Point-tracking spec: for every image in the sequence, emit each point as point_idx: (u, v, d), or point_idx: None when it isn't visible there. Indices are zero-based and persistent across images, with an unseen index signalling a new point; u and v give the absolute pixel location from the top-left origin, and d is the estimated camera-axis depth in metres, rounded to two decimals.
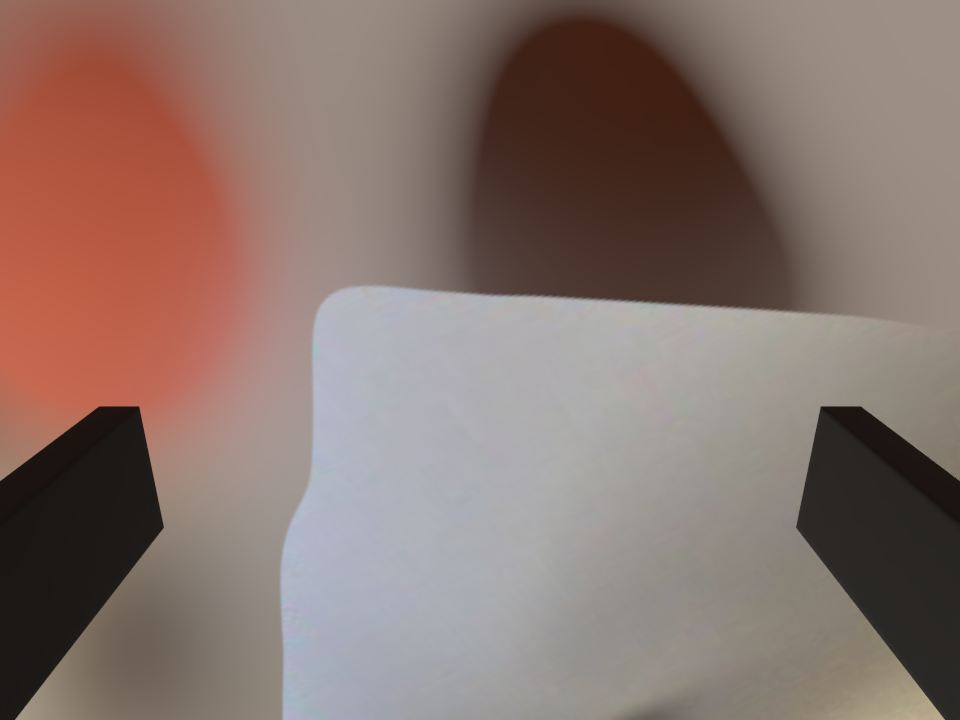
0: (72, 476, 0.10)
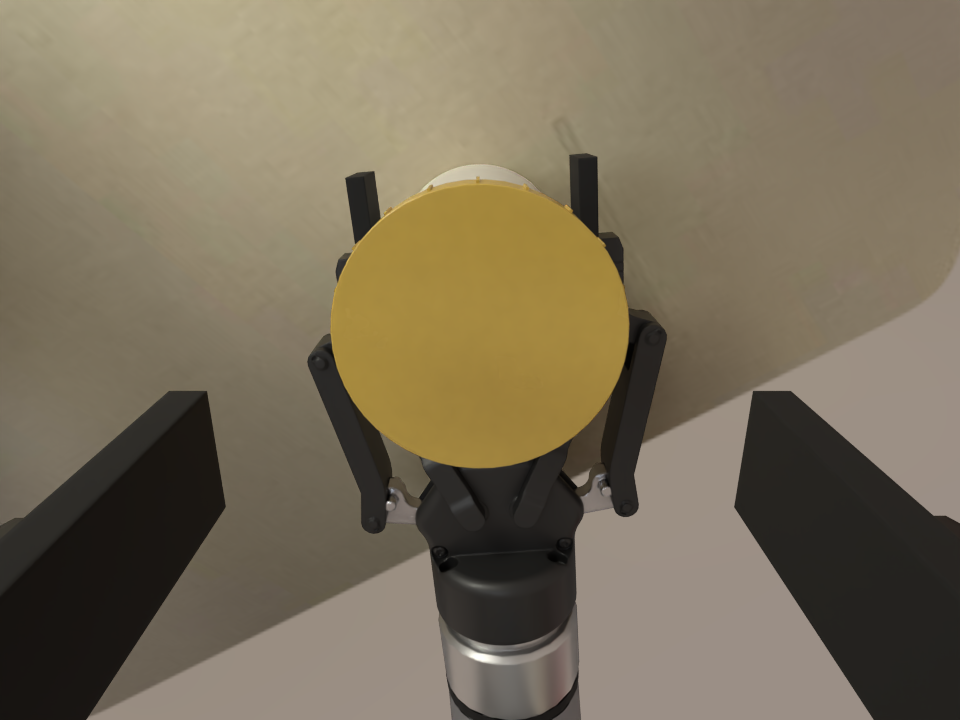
0: (156, 453, 0.11)
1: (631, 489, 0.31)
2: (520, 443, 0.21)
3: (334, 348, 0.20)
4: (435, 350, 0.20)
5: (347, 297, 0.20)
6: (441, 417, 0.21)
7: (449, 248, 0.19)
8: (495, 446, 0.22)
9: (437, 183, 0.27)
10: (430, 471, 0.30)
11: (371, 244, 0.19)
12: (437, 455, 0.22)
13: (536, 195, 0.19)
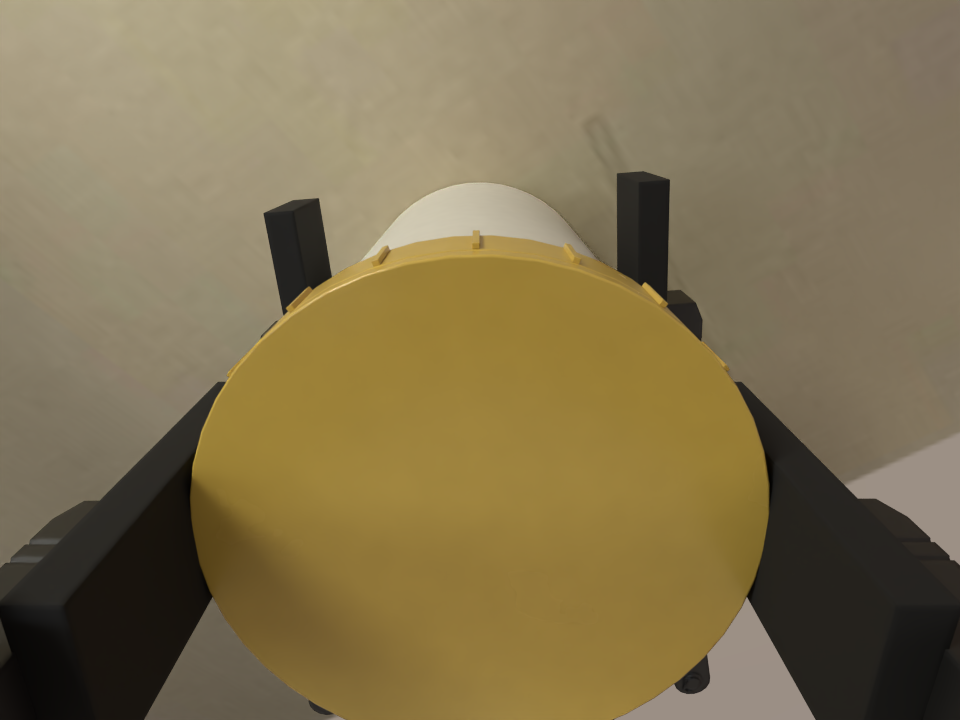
0: None
1: None
2: (553, 709, 0.12)
3: (201, 558, 0.11)
4: (394, 561, 0.11)
5: (219, 470, 0.10)
6: (408, 670, 0.11)
7: (418, 380, 0.09)
8: (508, 714, 0.12)
9: (413, 218, 0.17)
10: None
11: (259, 373, 0.09)
12: None
13: (597, 277, 0.09)
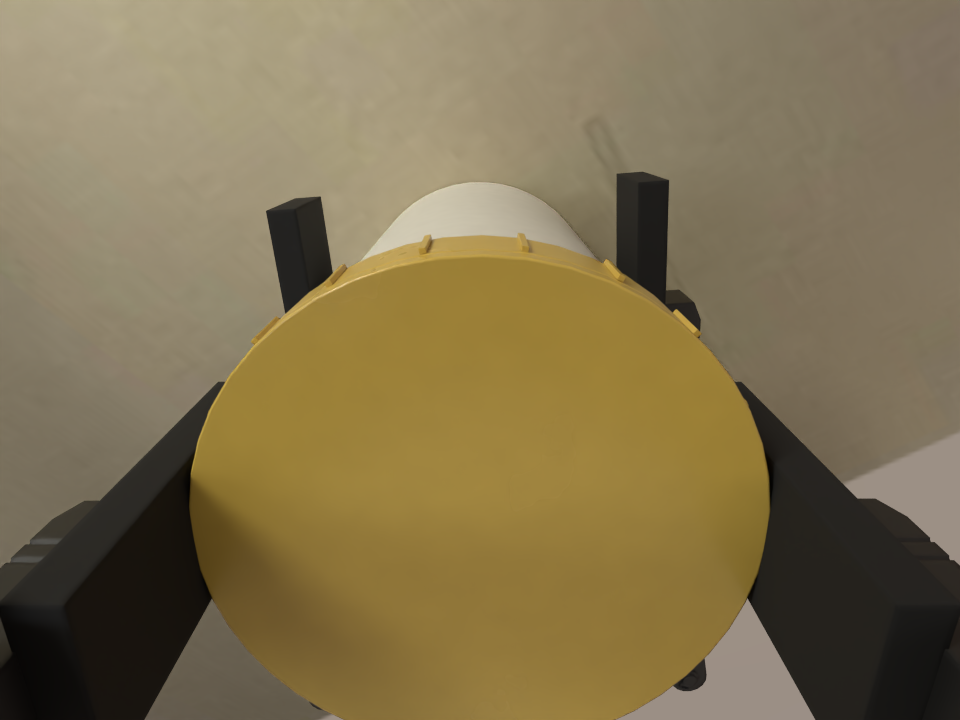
0: None
1: None
2: (707, 434, 0.10)
3: None
4: (517, 606, 0.11)
5: None
6: (654, 581, 0.11)
7: (325, 607, 0.11)
8: (716, 479, 0.10)
9: (415, 217, 0.18)
10: None
11: (349, 709, 0.12)
12: (740, 578, 0.11)
13: (192, 489, 0.10)
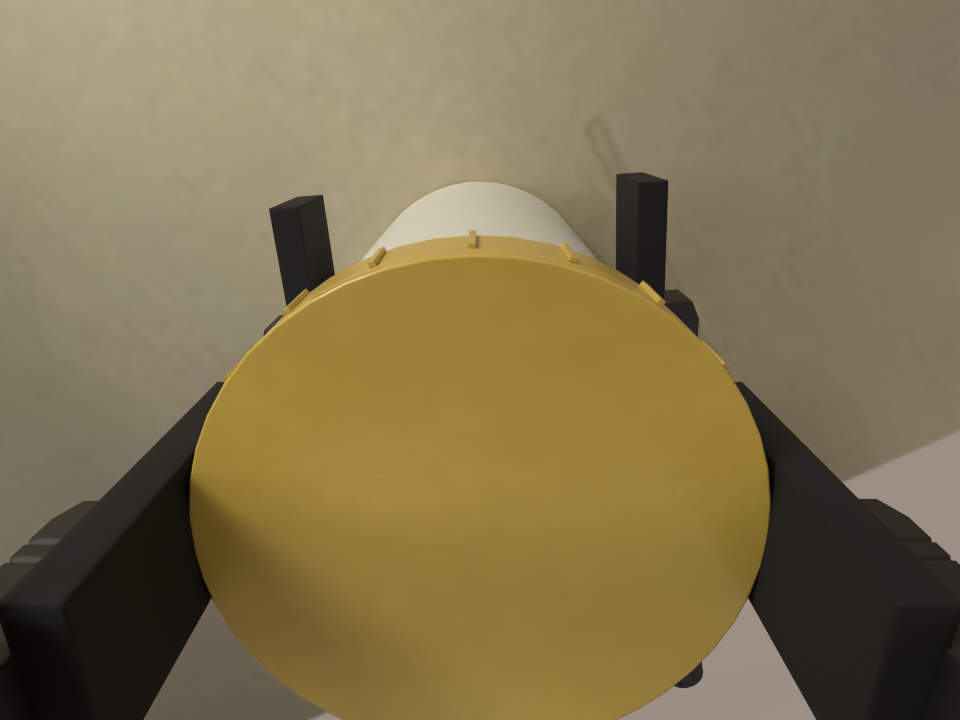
0: None
1: None
2: (309, 363, 0.09)
3: (757, 442, 0.10)
4: (555, 496, 0.10)
5: (743, 538, 0.10)
6: (501, 368, 0.09)
7: (580, 654, 0.11)
8: (359, 338, 0.09)
9: (416, 216, 0.18)
10: None
11: (712, 627, 0.11)
12: (481, 275, 0.09)
13: None
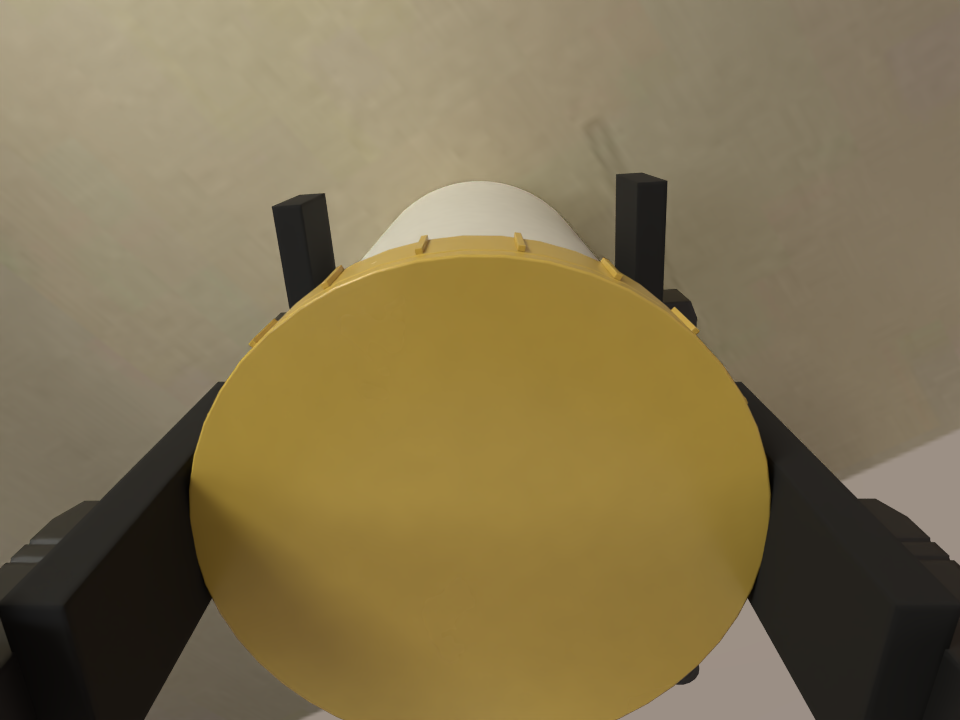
0: None
1: None
2: (331, 679, 0.11)
3: (305, 310, 0.09)
4: (414, 485, 0.10)
5: (426, 289, 0.09)
6: (294, 550, 0.10)
7: (616, 423, 0.10)
8: (300, 649, 0.11)
9: (417, 214, 0.18)
10: None
11: (557, 287, 0.09)
12: (218, 576, 0.11)
13: (767, 507, 0.10)
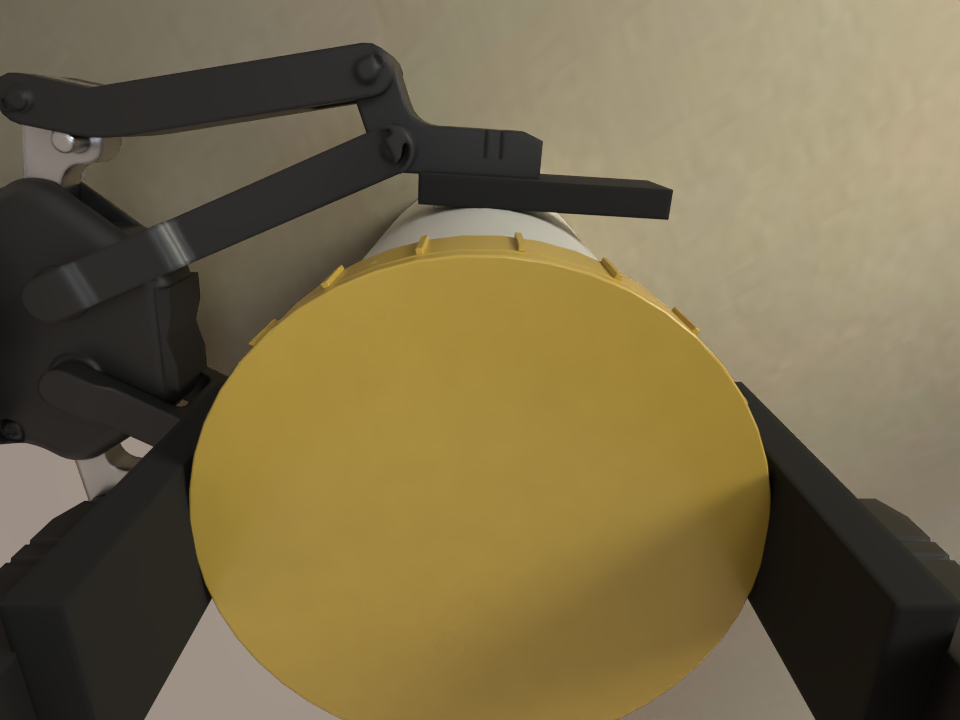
0: None
1: None
2: (330, 678, 0.11)
3: (305, 310, 0.09)
4: (414, 485, 0.10)
5: (426, 288, 0.09)
6: (294, 550, 0.10)
7: (616, 423, 0.10)
8: (300, 648, 0.11)
9: None
10: (146, 239, 0.17)
11: (558, 287, 0.09)
12: (217, 576, 0.11)
13: (767, 507, 0.10)
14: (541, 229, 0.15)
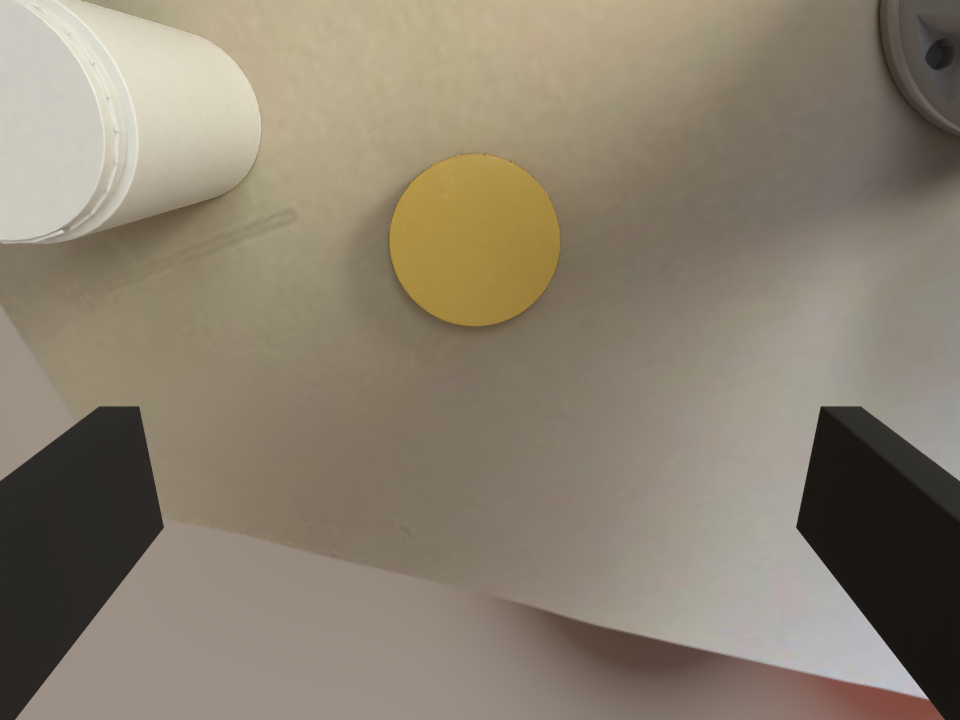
0: (72, 475, 0.10)
1: None
2: (427, 296, 0.36)
3: (427, 170, 0.34)
4: (455, 225, 0.35)
5: (460, 164, 0.34)
6: (419, 248, 0.35)
7: (513, 205, 0.34)
8: (418, 285, 0.36)
9: (209, 93, 0.28)
10: None
11: (495, 164, 0.34)
12: (395, 257, 0.35)
13: (559, 233, 0.35)
14: (96, 6, 0.24)
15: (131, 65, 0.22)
